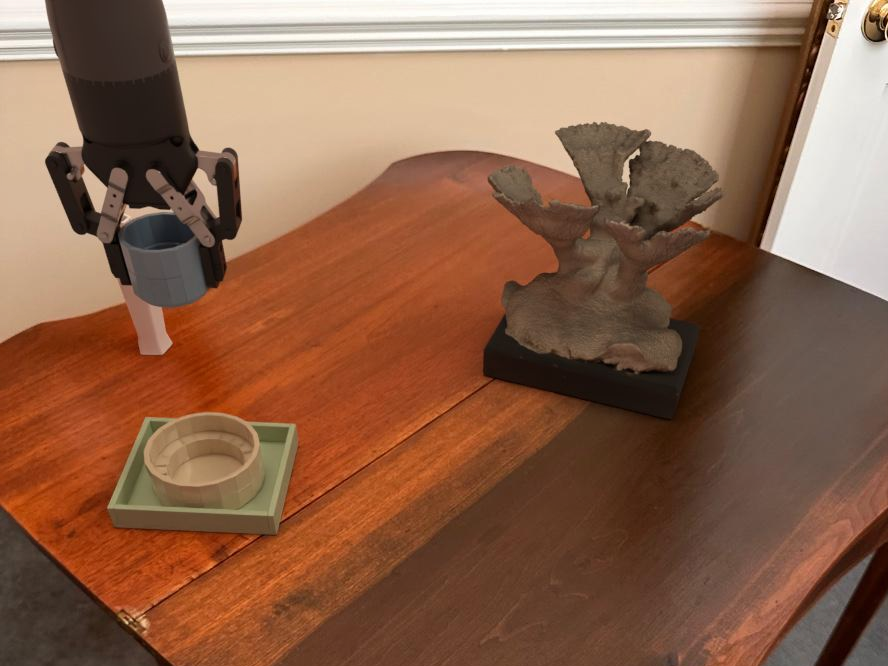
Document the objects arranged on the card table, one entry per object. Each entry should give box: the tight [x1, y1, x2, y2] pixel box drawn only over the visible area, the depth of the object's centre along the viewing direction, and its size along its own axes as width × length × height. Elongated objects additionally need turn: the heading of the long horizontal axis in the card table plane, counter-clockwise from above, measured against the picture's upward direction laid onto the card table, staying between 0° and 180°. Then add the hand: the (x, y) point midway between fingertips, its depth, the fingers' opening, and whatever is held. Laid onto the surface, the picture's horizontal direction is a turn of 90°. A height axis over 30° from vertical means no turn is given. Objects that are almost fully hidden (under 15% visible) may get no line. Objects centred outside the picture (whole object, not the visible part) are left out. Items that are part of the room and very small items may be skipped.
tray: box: [106, 416, 299, 536], centre depth 84 cm, size 15×13×2 cm
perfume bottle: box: [116, 213, 174, 356], centre depth 93 cm, size 5×4×15 cm
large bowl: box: [144, 411, 265, 510], centre depth 83 cm, size 11×11×4 cm
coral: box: [482, 121, 725, 420], centre depth 93 cm, size 25×20×22 cm
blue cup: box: [118, 211, 211, 309], centre depth 70 cm, size 6×6×5 cm
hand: (172, 281), depth 72 cm, fingers closed on blue cup, 6 cm apart
